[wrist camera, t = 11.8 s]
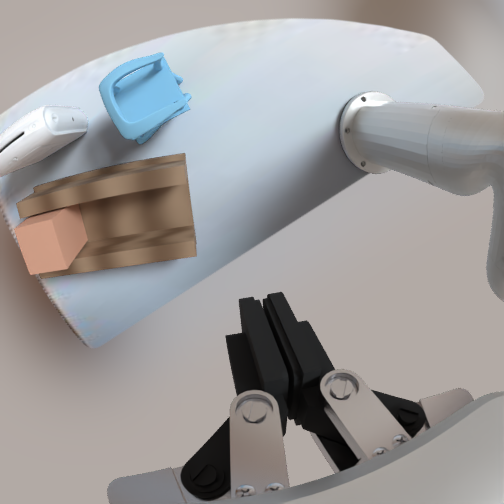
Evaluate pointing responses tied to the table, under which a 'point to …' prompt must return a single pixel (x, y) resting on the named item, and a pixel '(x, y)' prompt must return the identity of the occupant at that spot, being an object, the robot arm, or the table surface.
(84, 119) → the photo printer
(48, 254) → the block
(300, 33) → the table surface
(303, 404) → the robot arm
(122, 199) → the chute
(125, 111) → the chair
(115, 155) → the table surface
